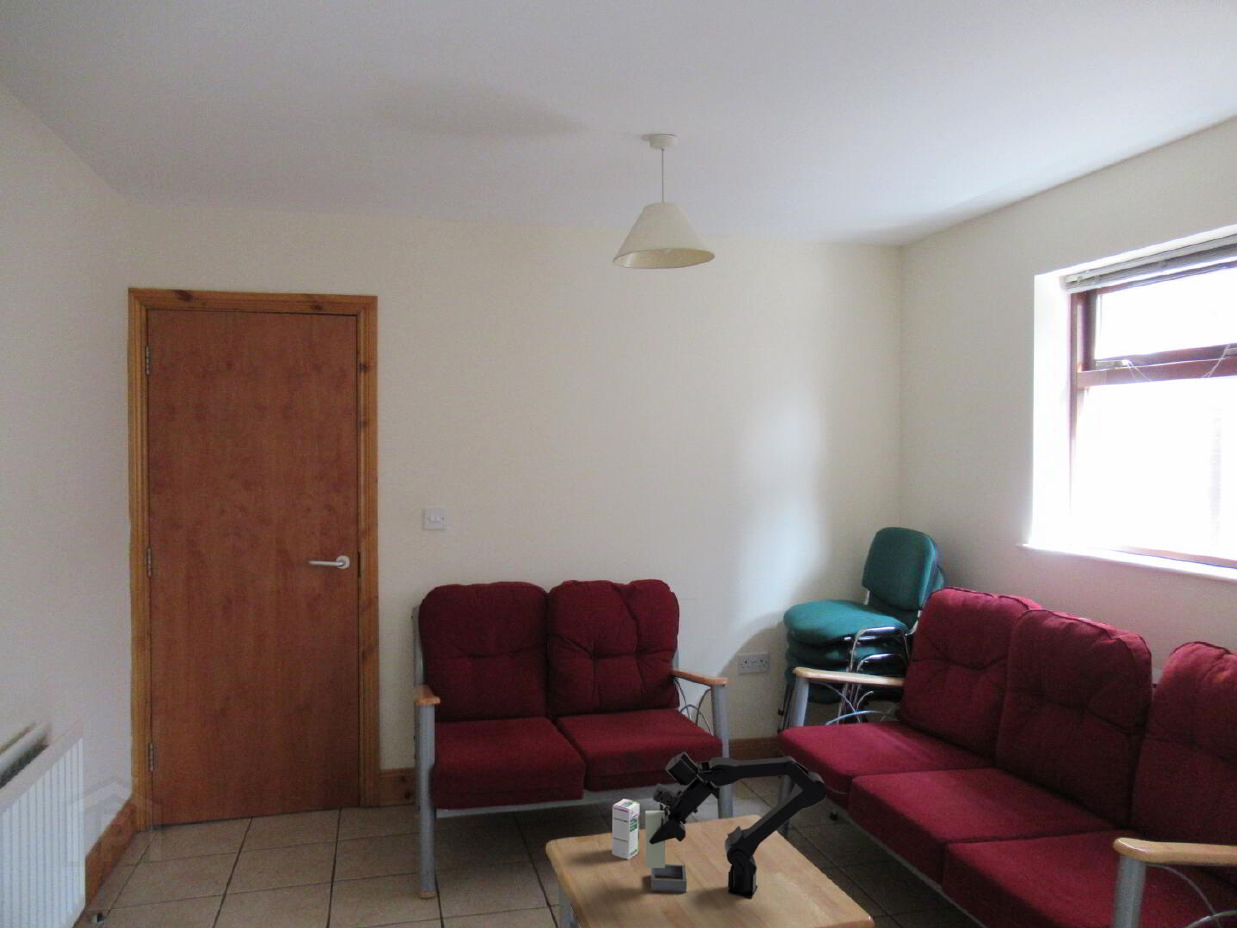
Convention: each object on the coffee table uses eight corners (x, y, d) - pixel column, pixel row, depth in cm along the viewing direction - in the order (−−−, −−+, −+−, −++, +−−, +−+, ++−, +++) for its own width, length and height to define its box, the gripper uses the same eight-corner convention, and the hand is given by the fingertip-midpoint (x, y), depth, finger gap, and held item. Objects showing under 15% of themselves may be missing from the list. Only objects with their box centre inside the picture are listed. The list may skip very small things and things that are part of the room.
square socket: (684, 875, 242) (684, 864, 242) (686, 892, 233) (686, 881, 233) (650, 874, 242) (651, 863, 242) (651, 891, 233) (651, 879, 233)
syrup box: (628, 860, 251) (630, 808, 250) (611, 854, 254) (612, 803, 253) (639, 852, 255) (640, 802, 255) (621, 847, 259) (623, 797, 258)
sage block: (664, 858, 238) (664, 810, 237) (665, 867, 233) (665, 818, 232) (645, 858, 238) (645, 810, 237) (645, 867, 233) (645, 818, 232)
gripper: (668, 762, 244) (628, 802, 244) (672, 788, 225) (628, 831, 225) (697, 791, 244) (656, 831, 244) (703, 820, 225) (659, 863, 226)
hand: (650, 838), depth 235 cm, fingers closed on sage block, 5 cm apart
